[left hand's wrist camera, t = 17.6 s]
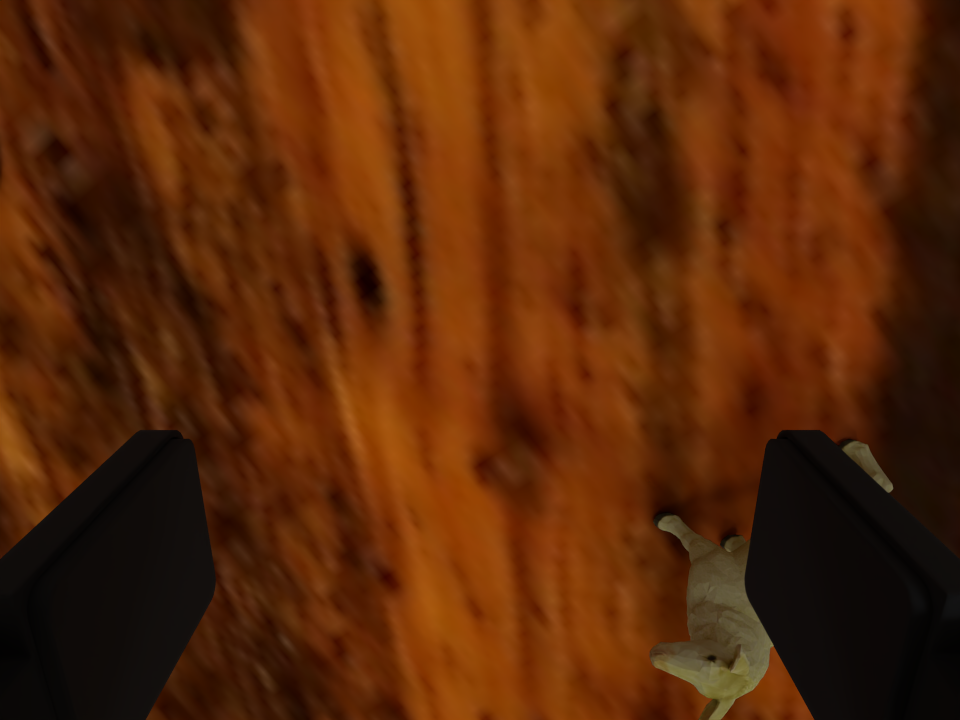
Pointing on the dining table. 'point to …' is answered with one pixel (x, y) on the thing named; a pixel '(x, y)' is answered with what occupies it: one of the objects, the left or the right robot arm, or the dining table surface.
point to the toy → (726, 611)
